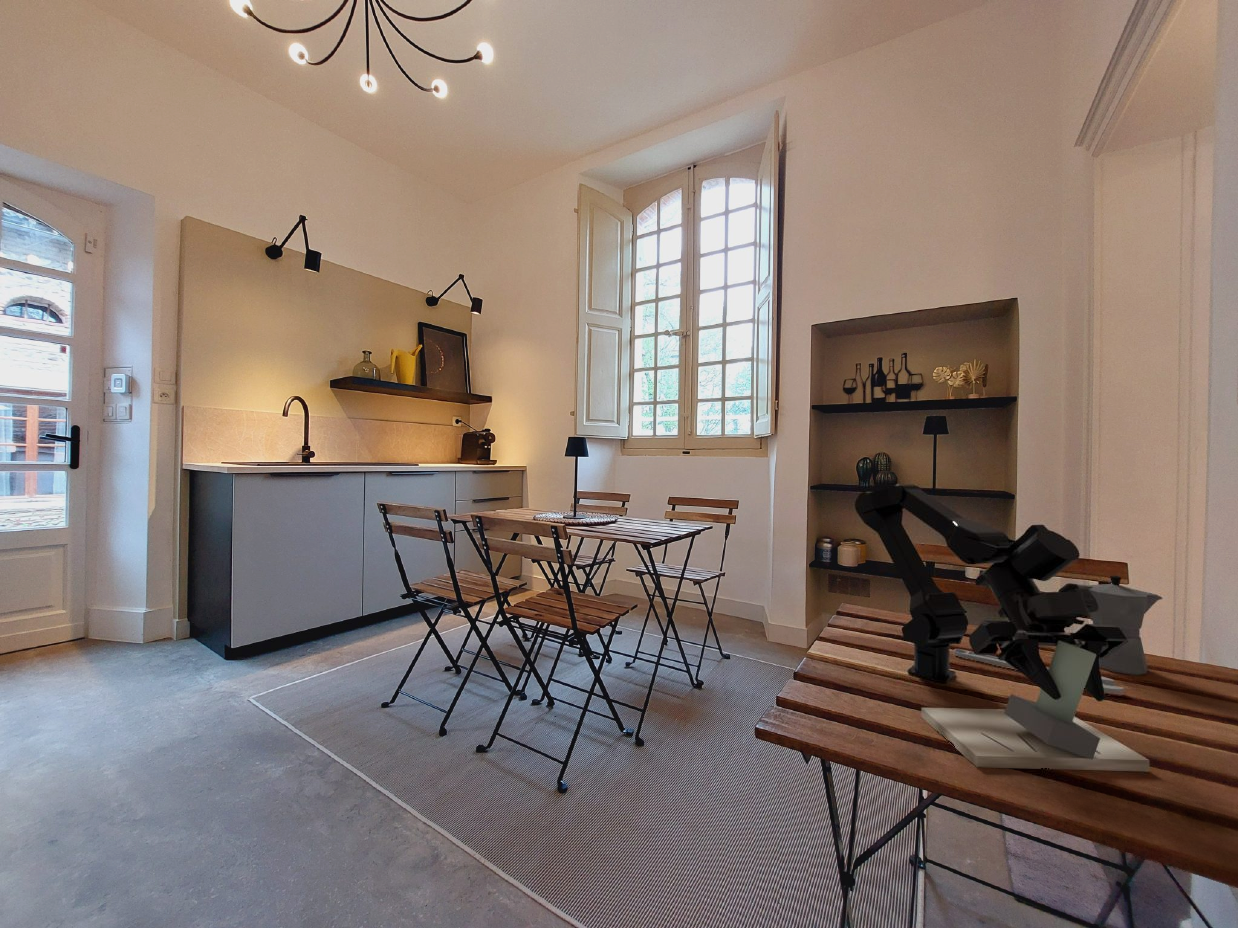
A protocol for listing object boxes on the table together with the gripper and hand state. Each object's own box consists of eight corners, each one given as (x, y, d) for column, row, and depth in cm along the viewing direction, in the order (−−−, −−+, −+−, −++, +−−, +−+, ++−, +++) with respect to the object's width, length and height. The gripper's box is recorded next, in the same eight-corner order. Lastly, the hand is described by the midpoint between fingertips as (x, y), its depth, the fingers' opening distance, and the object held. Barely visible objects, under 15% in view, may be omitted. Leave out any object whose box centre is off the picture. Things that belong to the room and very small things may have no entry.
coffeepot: (1150, 663, 101) (1150, 574, 100) (1173, 681, 92) (1174, 584, 92) (1051, 649, 108) (1051, 566, 108) (1065, 665, 100) (1065, 575, 100)
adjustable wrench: (951, 658, 104) (951, 650, 104) (960, 651, 109) (960, 642, 109) (1120, 700, 86) (1120, 690, 86) (1123, 689, 90) (1123, 679, 90)
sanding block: (1046, 743, 66) (1080, 650, 65) (1003, 713, 74) (1033, 630, 73) (1092, 759, 65) (1126, 666, 65) (1044, 727, 73) (1074, 644, 73)
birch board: (921, 716, 79) (921, 707, 79) (1064, 720, 78) (1064, 710, 78) (976, 766, 66) (976, 755, 66) (1149, 771, 65) (1149, 759, 65)
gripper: (981, 565, 73) (1039, 670, 62) (1115, 569, 72) (1200, 676, 61) (949, 605, 81) (996, 705, 70) (1070, 609, 80) (1138, 711, 69)
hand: (1079, 699), depth 67 cm, fingers closed on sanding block, 5 cm apart
